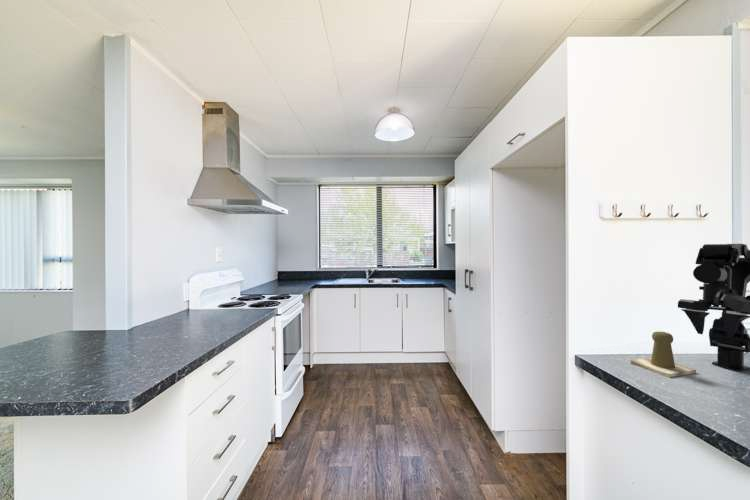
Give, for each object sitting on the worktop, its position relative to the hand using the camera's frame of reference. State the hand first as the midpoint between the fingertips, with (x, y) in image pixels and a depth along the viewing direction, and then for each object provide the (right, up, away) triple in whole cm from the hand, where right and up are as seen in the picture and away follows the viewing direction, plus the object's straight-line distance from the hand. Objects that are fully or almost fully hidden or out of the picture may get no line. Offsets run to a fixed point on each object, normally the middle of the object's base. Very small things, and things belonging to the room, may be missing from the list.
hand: (715, 335), depth 94 cm
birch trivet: (-8, -13, +9) cm, 18 cm away
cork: (-8, -13, +8) cm, 17 cm away
